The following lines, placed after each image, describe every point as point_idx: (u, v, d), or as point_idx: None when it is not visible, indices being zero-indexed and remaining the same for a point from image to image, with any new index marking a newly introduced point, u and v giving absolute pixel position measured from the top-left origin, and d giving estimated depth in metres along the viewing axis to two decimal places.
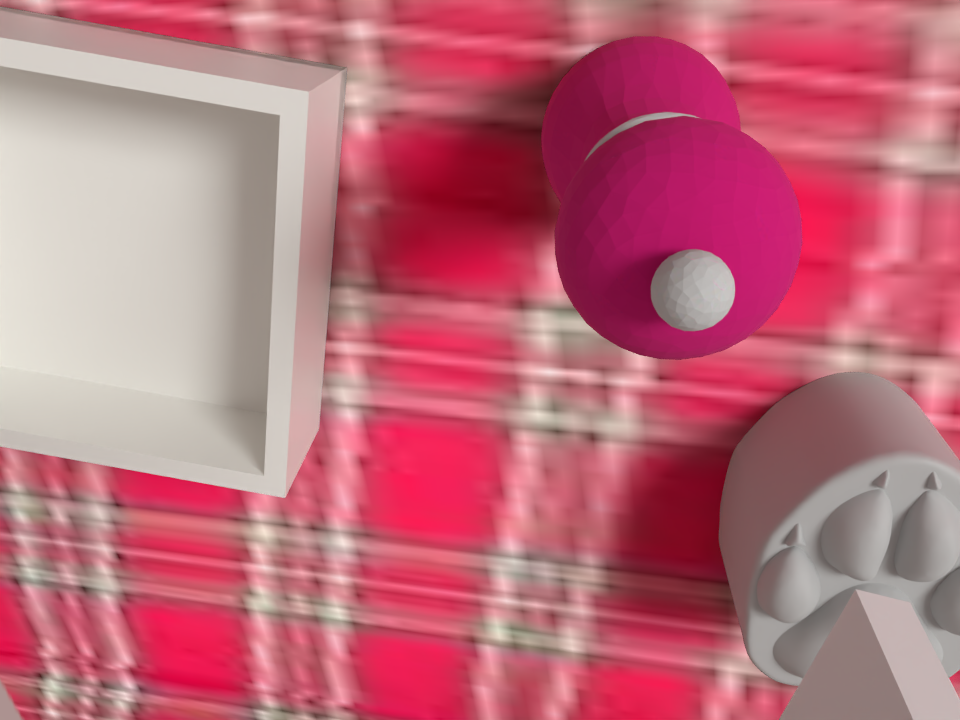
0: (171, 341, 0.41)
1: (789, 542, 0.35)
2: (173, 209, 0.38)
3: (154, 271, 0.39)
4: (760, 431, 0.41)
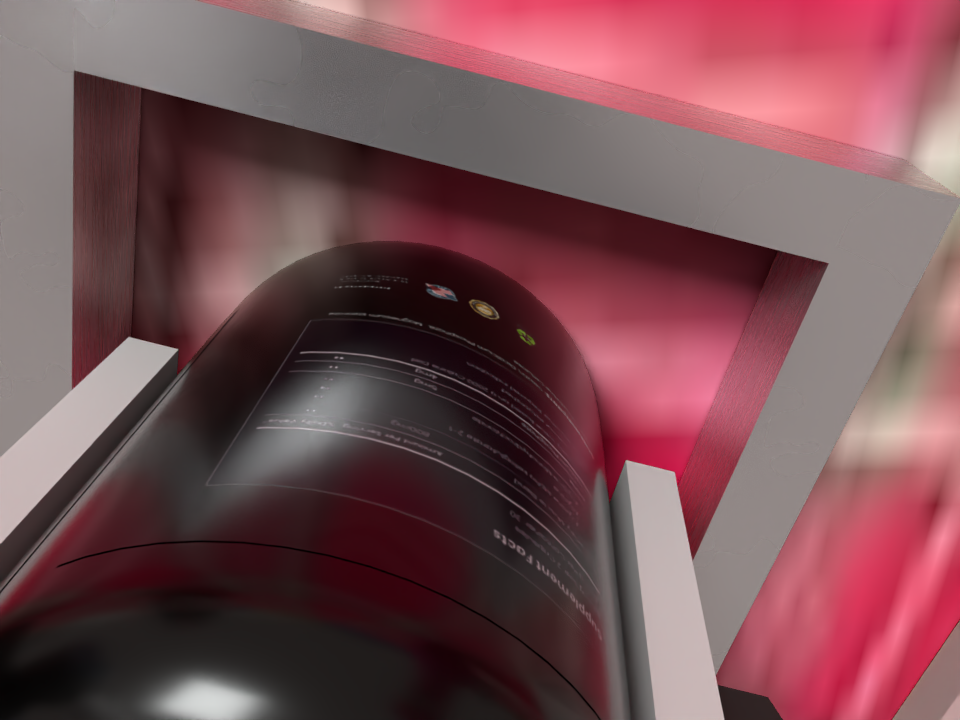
0: None
1: None
2: None
3: None
4: None
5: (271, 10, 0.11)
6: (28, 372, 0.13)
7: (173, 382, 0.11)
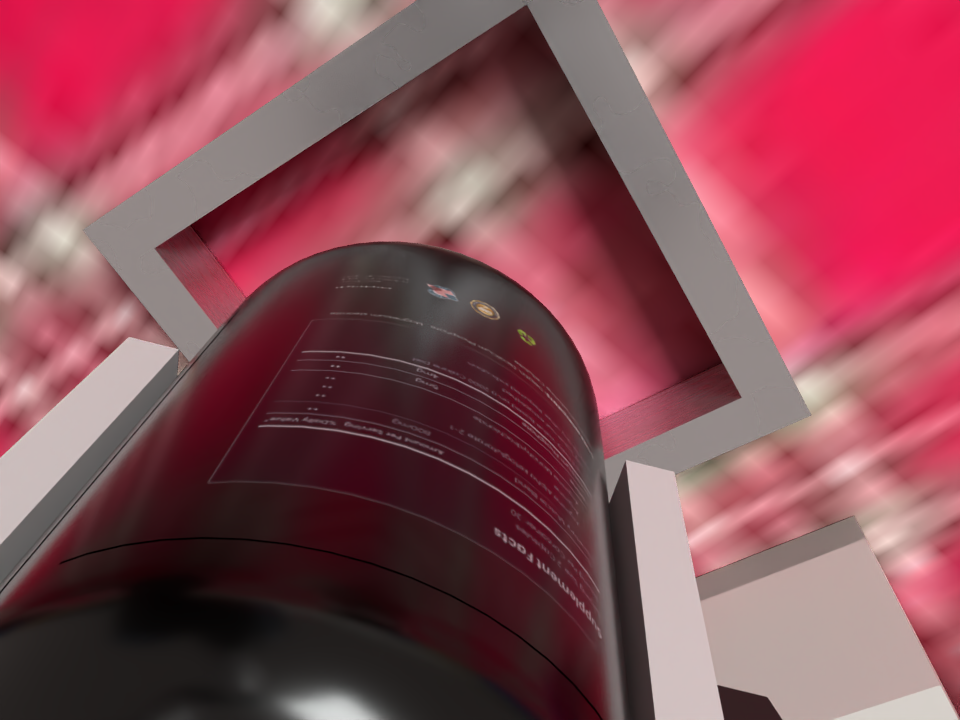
0: None
1: None
2: None
3: None
4: None
5: None
6: (317, 101, 0.18)
7: (175, 381, 0.11)
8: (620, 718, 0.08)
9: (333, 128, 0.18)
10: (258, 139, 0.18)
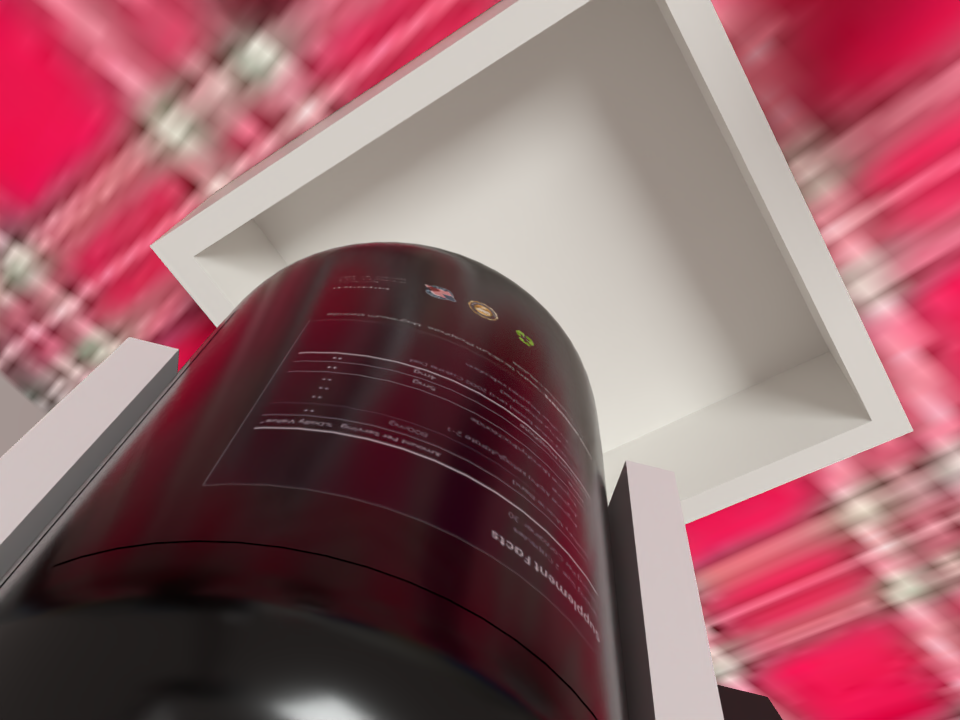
0: (642, 359, 0.33)
1: None
2: (560, 215, 0.31)
3: (581, 297, 0.32)
4: None
5: None
6: None
7: (171, 382, 0.11)
8: None
9: None
10: None
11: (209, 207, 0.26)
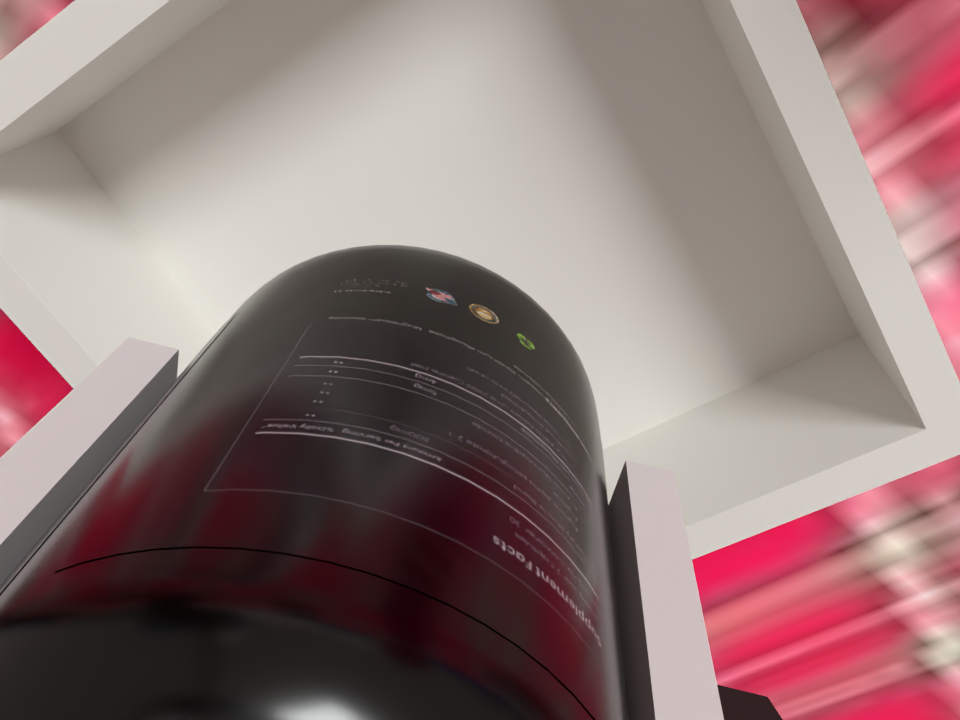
0: (604, 345, 0.24)
1: None
2: (487, 141, 0.22)
3: (519, 259, 0.23)
4: None
5: None
6: None
7: (172, 386, 0.11)
8: None
9: None
10: None
11: None
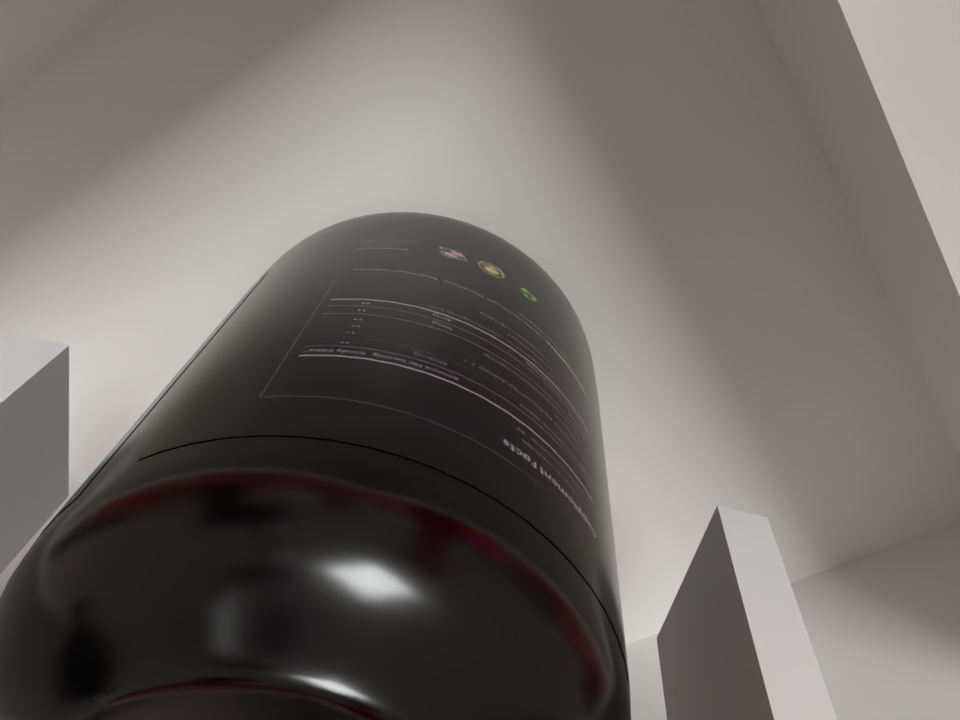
0: (621, 519, 0.17)
1: None
2: None
3: None
4: None
5: None
6: None
7: (215, 331, 0.12)
8: (612, 601, 0.09)
9: None
10: None
11: None
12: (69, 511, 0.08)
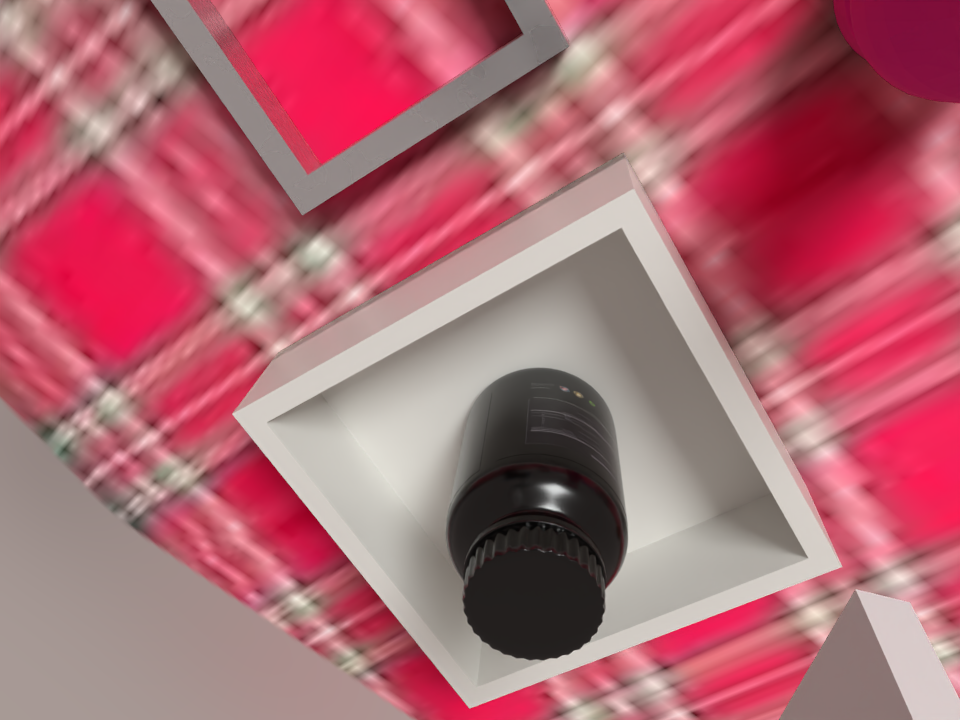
0: (626, 492, 0.40)
1: None
2: None
3: None
4: None
5: None
6: None
7: (484, 418, 0.34)
8: (622, 501, 0.31)
9: None
10: None
11: (281, 387, 0.33)
12: (480, 473, 0.30)
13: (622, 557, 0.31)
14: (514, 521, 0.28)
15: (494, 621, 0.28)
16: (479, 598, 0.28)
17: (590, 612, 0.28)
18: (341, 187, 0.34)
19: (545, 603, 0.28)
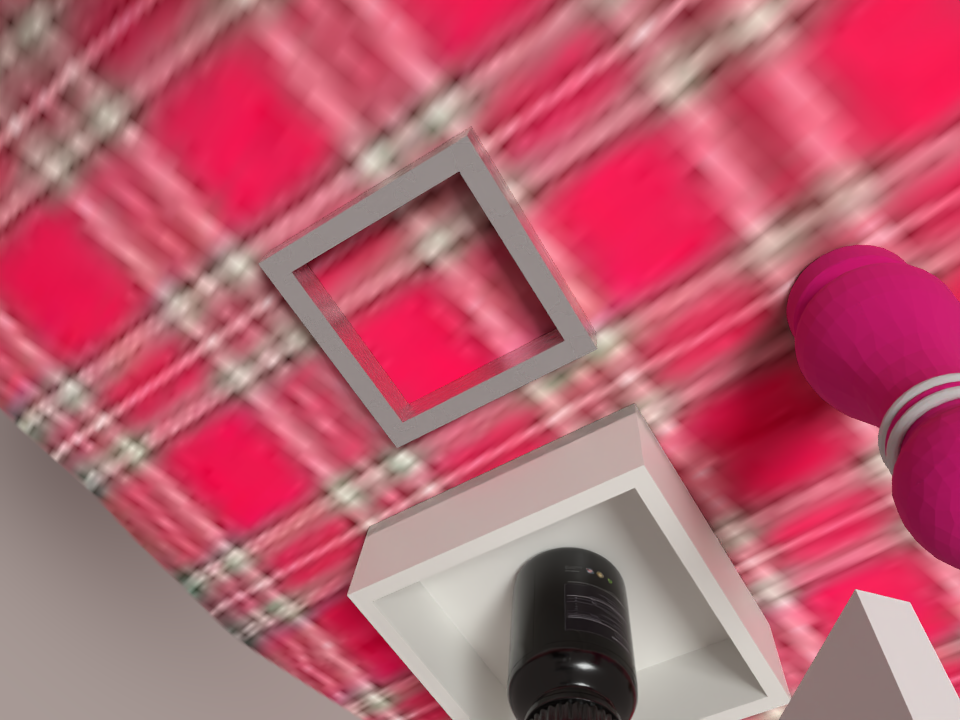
0: (634, 630, 0.52)
1: None
2: None
3: None
4: None
5: (506, 194, 0.40)
6: (369, 208, 0.40)
7: (532, 596, 0.47)
8: (634, 669, 0.44)
9: (375, 220, 0.41)
10: (342, 224, 0.41)
11: (384, 579, 0.46)
12: (534, 654, 0.43)
13: (634, 711, 0.43)
14: (561, 697, 0.41)
15: None
16: None
17: None
18: (427, 430, 0.46)
19: None
